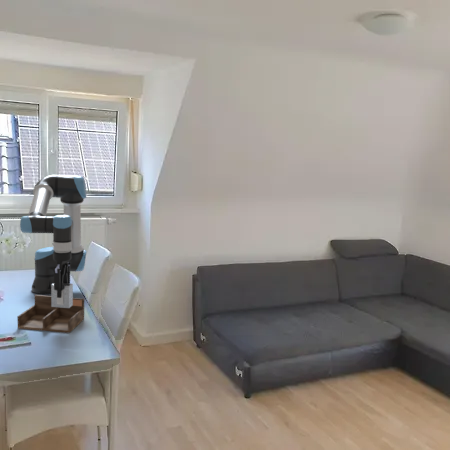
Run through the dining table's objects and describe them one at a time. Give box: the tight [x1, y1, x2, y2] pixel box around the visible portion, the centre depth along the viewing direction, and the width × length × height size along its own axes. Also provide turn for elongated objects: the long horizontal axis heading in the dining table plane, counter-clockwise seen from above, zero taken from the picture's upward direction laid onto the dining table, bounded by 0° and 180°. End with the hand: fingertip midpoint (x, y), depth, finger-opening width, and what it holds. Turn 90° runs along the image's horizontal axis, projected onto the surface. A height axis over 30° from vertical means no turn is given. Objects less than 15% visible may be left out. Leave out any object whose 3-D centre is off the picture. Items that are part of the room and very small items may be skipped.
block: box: [50, 282, 74, 308], centre depth 216 cm, size 4×8×10 cm, turn 85°
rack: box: [16, 294, 85, 334], centre depth 220 cm, size 17×23×10 cm
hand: (62, 302), depth 216 cm, fingers closed on block, 4 cm apart
